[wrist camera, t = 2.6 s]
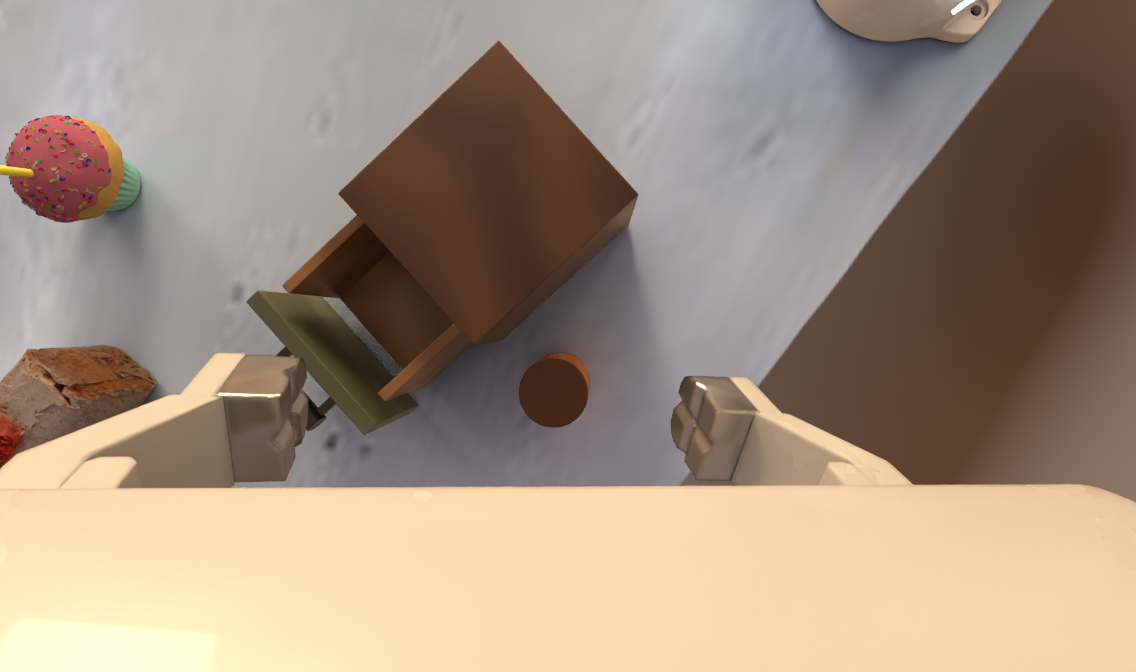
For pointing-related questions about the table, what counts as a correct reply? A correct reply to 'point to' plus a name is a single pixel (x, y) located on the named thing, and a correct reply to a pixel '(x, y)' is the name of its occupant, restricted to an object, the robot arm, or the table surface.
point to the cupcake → (69, 169)
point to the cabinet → (492, 198)
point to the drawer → (384, 308)
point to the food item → (66, 394)
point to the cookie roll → (555, 390)
